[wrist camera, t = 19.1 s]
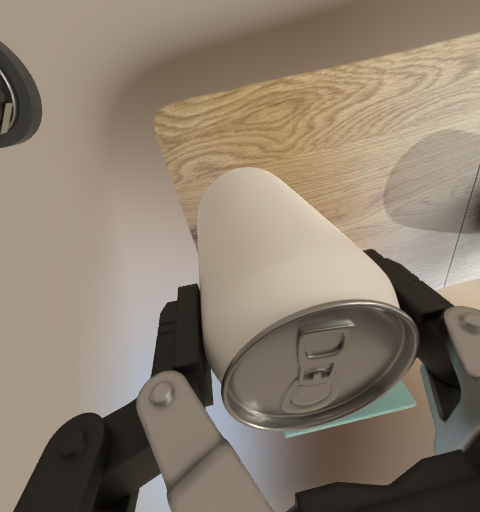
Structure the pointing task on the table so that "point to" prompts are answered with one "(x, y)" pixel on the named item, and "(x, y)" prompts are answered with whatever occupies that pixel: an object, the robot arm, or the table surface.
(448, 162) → the table surface
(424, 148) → the table surface
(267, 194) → the can
